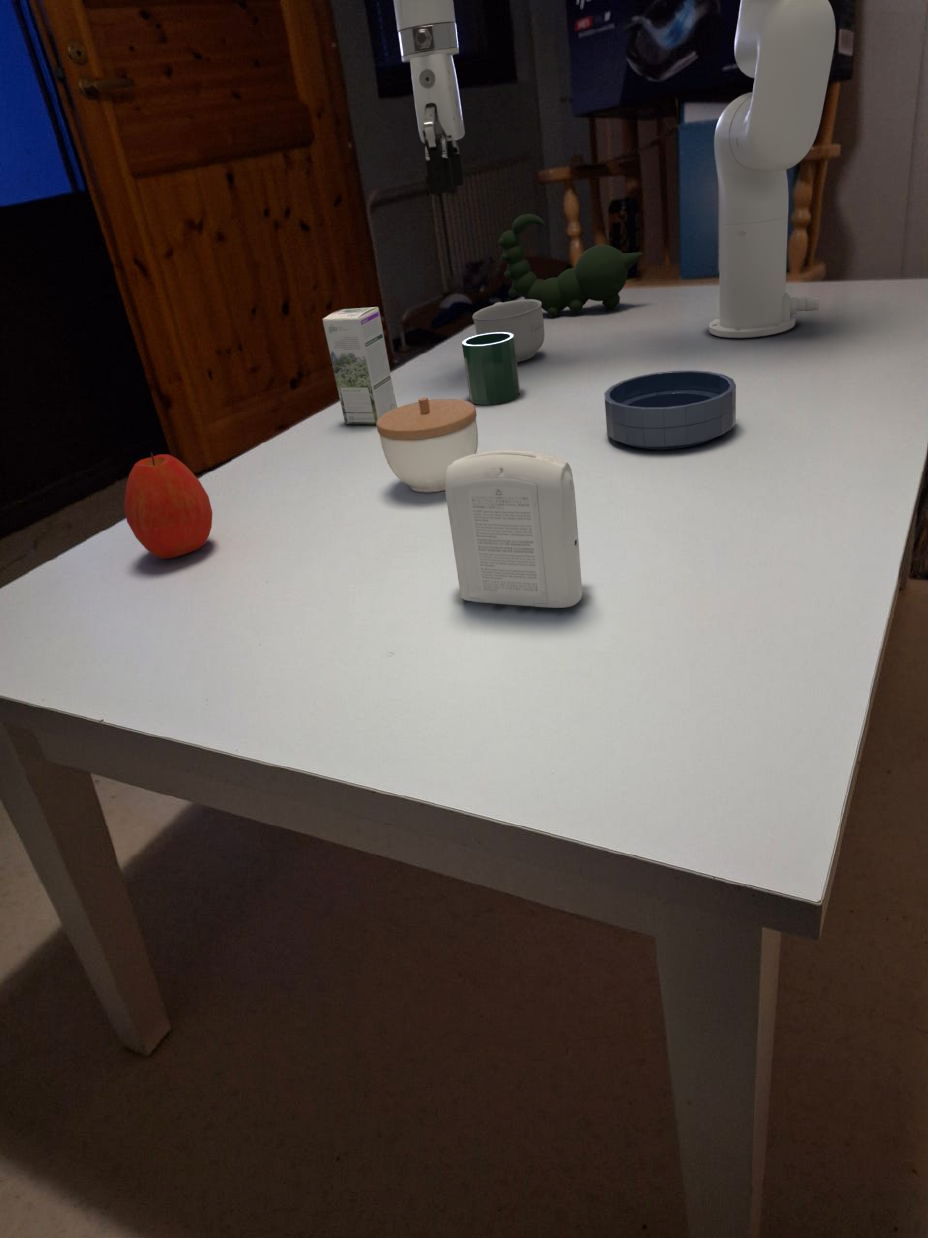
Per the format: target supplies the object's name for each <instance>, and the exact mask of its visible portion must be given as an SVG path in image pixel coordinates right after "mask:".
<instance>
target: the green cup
mask: <svg viewBox="0 0 928 1238" xmlns="http://www.w3.org/2000/svg"><path fill="white" fill-rule="evenodd" d="M461 342H462V343H461V348H462V354H463V362H464V368H465V369H464V370H465V375H466V383H467V390H468V396H469V400H470V401H469V402H470V403H472V404H473V405H474V404H475V405H479V406H491V405H500V404H504V403H508V402H511V401H513V400H515V399H517V398H519V397H520V395H521V391H520V389H521V387H520V385H521V384H520V378H519V377H520V376H519V369H518V362H517V358H516V350H515V341H514V335H513V334H511V333H505V332H498V333H487V334H482V335H477V334H476V335H473V336H470V337H467V338H466V339H464V340H462V341H461Z"/></svg>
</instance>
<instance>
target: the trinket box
mask: <svg viewBox="0 0 928 1238" xmlns="http://www.w3.org/2000/svg"><path fill="white" fill-rule="evenodd" d="M375 425H376V430H377V433H378V435H379V440H380V445H381V448H382V452H383V456H384V458H385V460H386V462H387V464H388V466H389V468H390V470H391V472H392V473H393V474H394V475H395V476H396V477H397V478H398V480H400V481H402V482H403V483H404V484H406V485H407V486H409V489H411V491H413V492H418V493H428V494H429V493H438V492H445V479H446V472H447V468H448V466H449V465H451V464H453V462H454V461H455V460H458V459H460V458H463V457H466V456H469V455H473V454H477V453H478V446H479V441H478V440H479V434H478V424H477V408H476V406H475V405H474V403H472V402H471V401H468V400H465V399H457V398H438V399H437V398H436V399H429V398H428V397H420V398H418V401H415V402H412V403H408V404H404V405H400V406H397V408H395V409H393V410H390V411H388V412H387V413H385V414H383V415H382V416H381V417H380V418H379V419H378V420H377V423H376V424H375Z"/></svg>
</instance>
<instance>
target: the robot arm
mask: <svg viewBox="0 0 928 1238" xmlns="http://www.w3.org/2000/svg"><path fill="white" fill-rule="evenodd" d="M393 7H394V13H395V14H394V15H395V22H396V29H397V36H398V43H399V49H400V56H401V62H402V63H410V74H411V76H410V77H411V83H412V91H413V100H414V108H415V115H416V121H417V127H418V133H419V134H418V135H419V137H420V138H419V139H420V142H422V144H424V157H425V168H426V174H427V181H428V189H429V193H430V194H431V195H438V194H447V193H452V192H453V191H454V189H455V188H454V187H460V186H463V185H464V176H463V175H464V174H463V167H462V159H461V153H460V149H459V148H460V147H459V143H458V140H461V139H463V138H464V136H465V133H466V131H465V123H464V118H463V111H462V106H461V105H462V104H461V98H460V90H459V84H458V78H457V73H456V67H455V63H454V57H453V56H454V55H459V54H460V50H459V41H458V40H459V39H458V32H457V31H458V30H457V23H456V15H455V7H454V0H393ZM735 30H736V31H735V37H734V44H733V45H734V47H733V49H734V59H735V63H736V65H737V67H738V68H739V70H740V71H741V73H743V74H744V75H745V76H747V77H749V78H752V79H754V81H753V88H752V92H747V93H744V94H741V95H740V96H738V97H737V98H735V99H734V100H732V101H731V102H730V103H728V105H727V106H726V107H725V108H724V109H723V110H722V112H721V114H720V116H719V118H718V121H717V124H716V127H715V131H714V139H713V148H714V149H713V151H714V152H713V153H714V160H715V168H716V174H717V175H716V176H717V185H718V213H719V214H718V216H719V217H718V220H719V221H718V231H719V232H718V235H719V238H718V239H719V240H718V242H719V244H718V245H719V247H718V251H719V252H718V257H719V258H718V259H719V260H718V261H719V262H718V263H719V266H718V267H719V268H718V269H719V270H718V271H719V272H718V273H719V274H718V275H719V279H718V280H719V281H718V284H719V293H718V294H719V302H718V303H719V305H718V306H719V310H718V311H719V317H717V318H715V319H713V320H712V321H711V322H709V324H708V332H709V333H710V334H711V335H713V336H716V337H721V338H730V339H747V338H759V337H767V336H772V335H776V334H781V333H783V332H786V331H789V330H791V329H792V328H794V327H795V325H796V316H795V315H796V314H797V312H803V311H804V312H812V311H818V310H819V307H820V298H819V296H808V297H807V296H806V295H803V296H798V297H793V296H792V297H791V296H790V295H789V294H788V293H787V292H786V290H787V289H786V288H787V261H788V260H787V259H788V258H787V256H788V227H789V225H788V224H789V205H790V203H789V201H790V200H789V197H790V196H789V181H788V175H787V170H788V169H791V168H793V167H795V166H796V165H798V164H799V163H800V162H801V161H802V160H803V159H804V158H805V157H806V156H807V155H808V153H809V152H810V150H811V148H812V147H813V145H814V142H815V140H816V137H817V135H818V131H819V128H820V124H821V120H822V114H823V111H824V110H823V109H824V105H825V104H824V103H825V100H826V95H827V88H828V83H829V77H830V72H831V67H832V61H833V57H834V50H835V44H836V30H837V29H836V19H835V14H834V10H833V8H832V5H831V3H830V1H829V0H740V5H739V11H738V18H737V23H736V29H735Z"/></svg>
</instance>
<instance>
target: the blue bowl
mask: <svg viewBox="0 0 928 1238" xmlns="http://www.w3.org/2000/svg"><path fill="white" fill-rule="evenodd" d="M603 395H604V409H605V423H606V424H605V425H606V434H607V436H608V437H610V438H611V439H612V440H613V441H615V442H619V443H622V444H625V445H628V446H630V447H633V448H638V449H643V450H676V449H684V448H689V447H694V446H698V445H701V444H704V443H707V442H709V441H712V440H714V439H716V438H718V437H721V436H722V435H724V434H726V433H728V432H729V431H730V430H732V429H733V427H734V425H735V423H736V420H737V417H736V416H737V384H736V382H735V381H734V379H733V378H732V377H730V376H728V375H726V374H722V373H718V372H713V371H705V370H692V369H691V370H670V371H660V372H653V373H648V374H647V373H646V374H642V375H637V376H634V377H631V378H627V379H624V380H621V381H619V382H617V383H615V384H612V385H611V386H609V388H608V389H607V390H606V391H605V392H604V393H603Z"/></svg>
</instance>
